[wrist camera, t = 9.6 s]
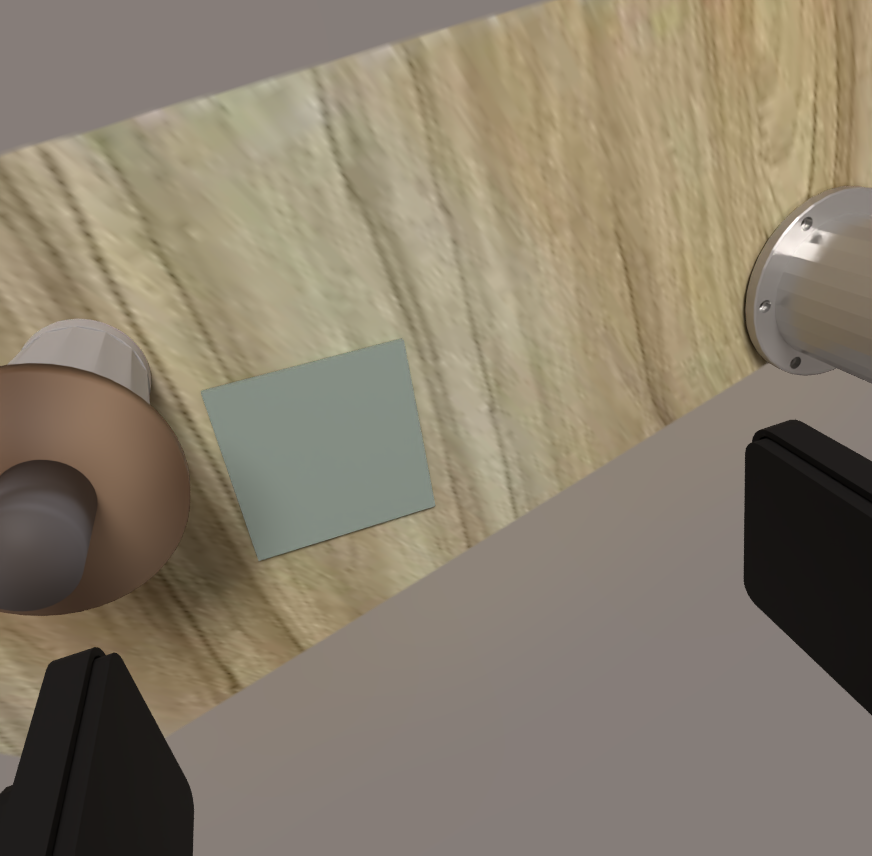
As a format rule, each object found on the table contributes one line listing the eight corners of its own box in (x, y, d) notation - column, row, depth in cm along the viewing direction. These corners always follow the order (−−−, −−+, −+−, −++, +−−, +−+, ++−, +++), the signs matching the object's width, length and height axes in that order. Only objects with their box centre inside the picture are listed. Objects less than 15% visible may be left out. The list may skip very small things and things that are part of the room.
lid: (137, 330, 26) (126, 379, 21) (223, 552, 30) (228, 630, 26) (-173, 409, 24) (-252, 480, 20) (-31, 633, 29) (-69, 730, 24)
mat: (401, 338, 42) (403, 340, 41) (433, 502, 47) (435, 506, 47) (201, 390, 40) (200, 393, 39) (258, 557, 45) (258, 560, 44)
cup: (192, 414, 40) (194, 530, 30) (49, 469, 39) (-2, 609, 28) (124, 279, 36) (99, 357, 26) (-37, 336, 35) (-132, 441, 25)
